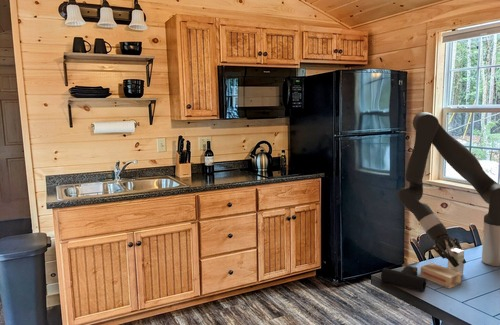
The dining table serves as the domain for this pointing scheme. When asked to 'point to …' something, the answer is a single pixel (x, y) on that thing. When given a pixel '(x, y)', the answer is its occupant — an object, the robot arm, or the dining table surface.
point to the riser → (441, 275)
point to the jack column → (459, 257)
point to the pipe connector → (404, 278)
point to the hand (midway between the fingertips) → (460, 264)
